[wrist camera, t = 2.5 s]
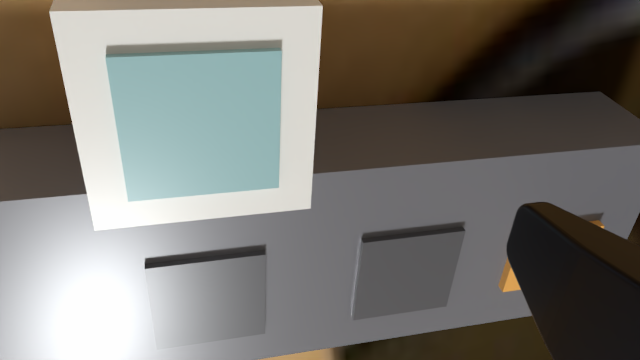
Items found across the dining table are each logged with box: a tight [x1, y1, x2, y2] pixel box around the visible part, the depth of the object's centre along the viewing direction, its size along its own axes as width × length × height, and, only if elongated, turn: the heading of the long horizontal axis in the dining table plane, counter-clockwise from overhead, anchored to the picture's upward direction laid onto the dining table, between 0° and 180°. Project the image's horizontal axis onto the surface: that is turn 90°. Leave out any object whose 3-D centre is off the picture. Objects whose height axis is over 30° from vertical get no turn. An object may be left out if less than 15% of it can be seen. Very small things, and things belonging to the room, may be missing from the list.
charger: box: [49, 0, 323, 231], centre depth 14 cm, size 4×7×6 cm
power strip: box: [0, 91, 640, 360], centre depth 18 cm, size 25×7×4 cm, turn 87°
